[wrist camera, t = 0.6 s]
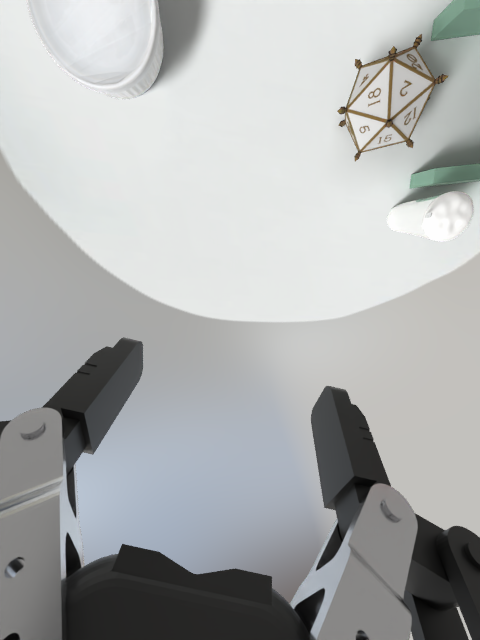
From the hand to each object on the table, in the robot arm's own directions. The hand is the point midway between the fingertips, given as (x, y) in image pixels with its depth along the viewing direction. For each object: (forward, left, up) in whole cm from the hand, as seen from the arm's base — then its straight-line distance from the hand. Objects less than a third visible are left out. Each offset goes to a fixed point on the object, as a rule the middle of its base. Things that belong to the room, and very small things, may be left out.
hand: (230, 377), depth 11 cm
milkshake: (-5, +21, -26) cm, 33 cm away
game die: (-15, +16, -26) cm, 34 cm away
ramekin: (-24, -10, -26) cm, 37 cm away
